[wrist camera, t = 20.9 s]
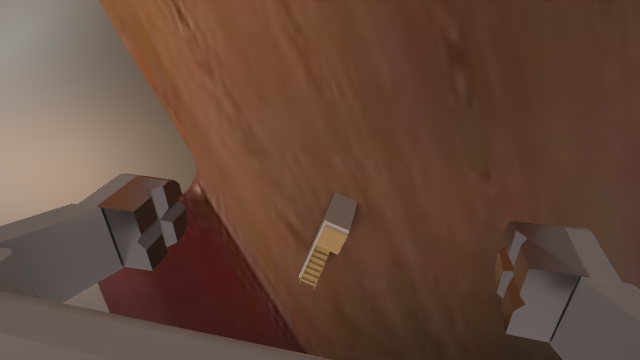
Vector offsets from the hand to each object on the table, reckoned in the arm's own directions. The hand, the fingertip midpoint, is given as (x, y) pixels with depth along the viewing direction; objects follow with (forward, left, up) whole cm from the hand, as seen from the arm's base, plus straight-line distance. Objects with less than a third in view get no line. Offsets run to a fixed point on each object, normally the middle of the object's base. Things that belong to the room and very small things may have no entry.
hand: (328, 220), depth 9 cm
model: (+27, +7, -35) cm, 45 cm away
